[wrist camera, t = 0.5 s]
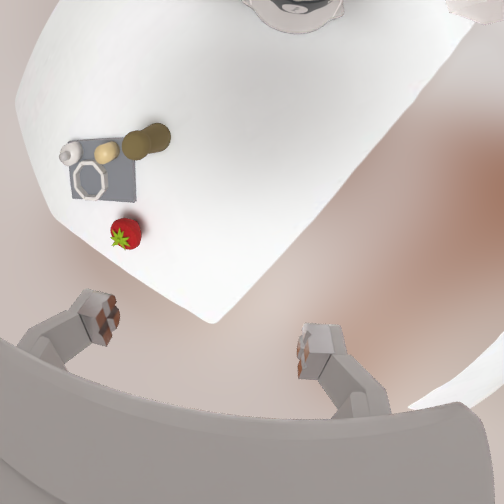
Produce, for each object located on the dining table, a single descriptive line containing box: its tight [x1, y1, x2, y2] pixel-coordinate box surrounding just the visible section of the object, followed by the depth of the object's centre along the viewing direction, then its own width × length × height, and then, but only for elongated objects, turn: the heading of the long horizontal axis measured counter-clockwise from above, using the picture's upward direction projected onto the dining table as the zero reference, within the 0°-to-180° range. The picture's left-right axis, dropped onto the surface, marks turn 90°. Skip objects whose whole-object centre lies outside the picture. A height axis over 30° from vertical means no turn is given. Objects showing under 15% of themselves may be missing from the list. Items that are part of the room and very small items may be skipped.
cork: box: [122, 123, 171, 160], centre depth 43 cm, size 6×6×11 cm
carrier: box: [59, 138, 136, 203], centre depth 49 cm, size 14×18×6 cm
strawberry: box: [110, 218, 141, 250], centre depth 54 cm, size 6×8×10 cm
